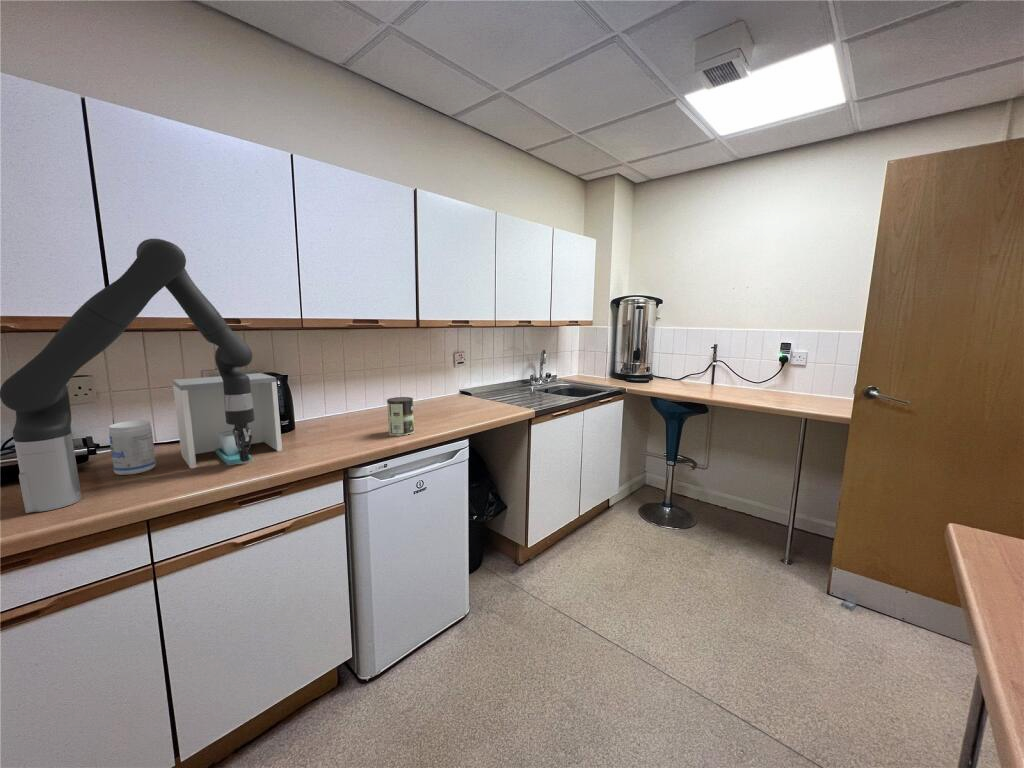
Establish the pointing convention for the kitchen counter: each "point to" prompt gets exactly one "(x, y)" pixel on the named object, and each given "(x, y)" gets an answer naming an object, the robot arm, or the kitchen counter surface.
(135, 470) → the supplement tub
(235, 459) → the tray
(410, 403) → the coffee can
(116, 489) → the kitchen counter surface
